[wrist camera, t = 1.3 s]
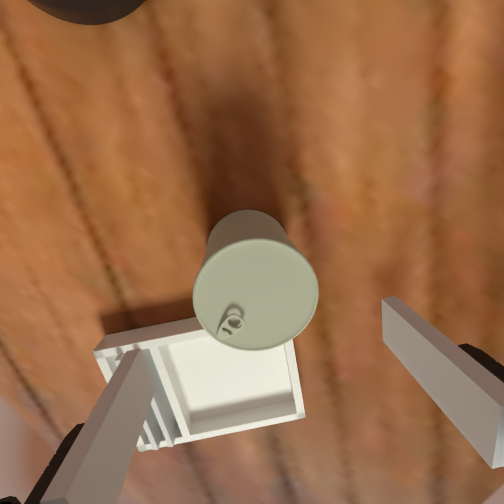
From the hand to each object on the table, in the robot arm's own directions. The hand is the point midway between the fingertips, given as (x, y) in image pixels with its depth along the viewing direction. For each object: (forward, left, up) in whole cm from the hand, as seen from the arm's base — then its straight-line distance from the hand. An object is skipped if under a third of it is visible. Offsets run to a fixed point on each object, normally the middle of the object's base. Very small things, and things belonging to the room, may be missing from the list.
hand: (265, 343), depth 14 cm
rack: (+15, -8, -16) cm, 24 cm away
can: (0, 0, -17) cm, 17 cm away
